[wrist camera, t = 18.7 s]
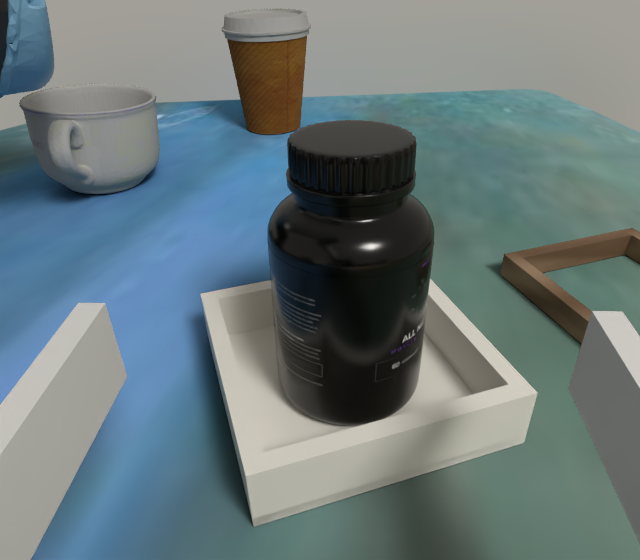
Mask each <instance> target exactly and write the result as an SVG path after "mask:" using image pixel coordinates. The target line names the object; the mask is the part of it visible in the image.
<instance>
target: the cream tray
mask: <svg viewBox="0 0 640 560" xmlns="http://www.w3.org/2000/svg"><path fill="white" fill-rule="evenodd" d="M201 300H202V306H203V311H204V317H205V322H206V328H207V334H208V339H209V343H210V347H211V351H212V356H213V360H214V364H215V368H216V372H217V376H218V380H219V385H220V389H221V393H222V397H223V401H224V405H225V410H226V414H227V418H228V422H229V426H230V430H231V435H232V439H233V443H234V447H235V451H236V455H237V460H238V464H239V468H240V472H241V476H242V480H243V485H244V489H245V493H246V497H247V501H248V505H249V509H250V514H251V518H252V522H253V526H254V527H255V526H258V525H261V524H264V523H268V522H271V521H274V520H277V519H280V518H284V517H287V516H290V515H293V514H296V513H300V512H303V511H306V510H309V509H313V508H316V507H319V506H322V505H325V504H329V503H332V502H335V501H338V500H342V499H345V498H348V497H351V496H354V495H358V494H361V493H364V492H367V491H370V490H374V489H377V488H380V487H383V486H387V485H390V484H393V483H396V482H399V481H403V480H406V479H409V478H412V477H415V476H419V475H422V474H425V473H428V472H432V471H435V470H438V469H441V468H444V467H448V466H451V465H454V464H457V463H460V462H464V461H467V460H470V459H473V458H477V457H480V456H483V455H486V454H489V453H493V452H496V451H499V450H502V449H505V448H509V447H512V446H515V445H518V444H522V443H524V441H525V437H526V433H527V430H528V426H529V422H530V419H531V415H532V411H533V408H534V404H535V400H536V397H537V392H536V391H535V390H534V389H533V388H532V387H531V385H530V384H529V383H528V382H527V381H526V380H525V379H524V378H523V377H522V376H521V375H520V374H519V373H518V372H517V371H516V370H515V368H514V367H513V366H512V365H511V364H510V363H509V362H508V361H507V360H506V359H505V358H504V357H503V356H502V355H501V354H500V352H499V351H498V350H497V349H496V348H495V347H494V346H493V345H492V344H491V343H490V342H489V341H488V340H487V339H486V338H485V337H484V335H483V334H482V333H481V332H480V331H479V330H478V329H477V328H476V327H475V326H474V325H473V324H472V323H471V322H470V321H469V320H468V318H467V317H466V316H465V315H464V314H463V313H462V312H461V311H460V310H459V309H458V308H457V307H456V306H455V305H454V304H453V303H452V301H451V300H450V299H449V298H448V297H447V296H446V295H445V294H444V293H443V292H442V291H441V290H440V289H439V288H438V287H437V286H436V284H435V283H434V282H433V281H432V280H431V279H430V283H429V292H428V301H427V310H426V320H425V329H424V338H423V347H422V356H421V364H420V372H419V379H418V384H417V387H416V390H415V392H414V394H413V396H412V397H411V399H410V400H409V401H408V402H407V404H405V405H404V406H403V407H402V408H401V409H400V410H399V411H397V412H396V413H394V414H393V415H391V416H389V417H387V418H385V419H382V420H378V421H375V422H371V423H368V424H363V425H337V424H331V423H327V422H323V421H320V420H317V419H315V418H313V417H311V416H309V415H307V414H305V413H304V412H302V411H301V410H299V409H298V408H297V407H296V406H294V405H293V404H292V403H291V401H290V400H289V399H288V398H287V397H286V395H285V393H284V392H283V390H282V387H281V385H280V381H279V376H278V366H277V357H276V344H275V331H274V318H273V305H272V292H271V280H268V281H263V282H258V283H253V284H247V285H242V286H237V287H232V288H227V289H222V290H217V291H211V292H206V293H201Z"/></svg>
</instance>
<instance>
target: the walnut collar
mask: <svg viewBox="0 0 640 560" xmlns="http://www.w3.org/2000/svg"><path fill="white" fill-rule="evenodd" d="M621 255H627V256H628V257H630V258H632V259H633V260H635V261H637V262H638V263H640V232H639V231H637V230H635V229H633V228H630V229H625V230H620V231H615V232H610V233H605V234H600V235H595V236H591V237H586V238H581V239H576V240H571V241H566V242H561V243H557V244H552V245H547V246H542V247H537V248H532V249H527V250H522V251H518V252H513V253H508V254H504V258H503V263H502V268H501V275H502V276H503V277H504V278H505V279H507V280H508V281H509V282H510V283H511V284H512V285H514V286H515V287H516V288H517V289H518V290H519V291H521V292H522V293H523V294H524V295H525V296H526V297H528V298H529V299H530V300H531V301H532V302H533V303H535V304H536V305H537V306H538V307H539V308H540V309H541V310H543V311H544V312H545V313H546V314H547V315H548V316H550V317H551V318H552V319H553V320H554V321H555V322H557V323H558V324H559V325H560V326H561V327H562V328H564V329H565V330H566V331H567V332H568V333H569V334H571V335H572V336H573V337H574V338H575V339H576V340H578V341H579V342H580V343H581V344H582V342H583V339H584V335H585V332H586V329H587V326H588V323H589V319H590V316H591V313H592V311H591V310H589V309H588V308H587V307H586V306H584V305H583V304H582V303H580V302H579V301H578V300H576V299H575V298H574V297H573V296H571V295H570V294H569V293H567V292H566V291H565V290H564V289H562V288H561V287H560V286H558V285H557V284H556V283H554V282H553V281H552V280H551V279H549V278H548V277H547V276H545V275H544V274H543V273H544V272H549V271H553V270H558V269H562V268H567V267H571V266H576V265H581V264H585V263H590V262H594V261H599V260H603V259H608V258H612V257H617V256H621Z"/></svg>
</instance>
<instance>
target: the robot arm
mask: <svg viewBox="0 0 640 560" xmlns="http://www.w3.org/2000/svg"><path fill="white" fill-rule="evenodd" d="M53 71H54V54H53V45H52V37H51V30H50V24H49V18H48V12H47V7H46V2H45V0H0V98H1V97H3V96H4V95H9V94H15V93H21V92H27V91H34V90H37V89H40V88H42V87H43V86H45V85H46V84H47V83H48V82H49V81H50V79H51V77H52V75H53ZM126 378H127V374H126V371H125V368H124V364H123V361H122V358H121V354H120V351H119V348H118V344H117V341H116V338H115V334H114V331H113V328H112V324H111V321H110V318H109V314H108V311H107V308H106V304H105V303H78V304H77V305H76V307H75V308H74V309H73V311H72V312H71V313H70V315H69V316H68V317H67V319H66V320H65V321H64V322H63V324H62V325H61V326H60V328H59V329H58V330H57V332H56V333H55V334H54V336H53V337H52V338H51V339H50V341H49V342H48V343H47V345H46V346H45V347H44V349H43V350H42V351H41V353H40V354H39V355H38V356H37V358H36V359H35V360H34V362H33V363H32V364H31V366H30V367H29V368H28V370H27V371H26V372H25V373H24V375H23V376H22V377H21V379H20V380H19V381H18V383H17V384H16V385H15V387H14V388H13V389H12V390H11V392H10V393H9V394H8V396H7V397H6V398H5V400H4V401H3V402H2V404H1V405H0V560H31V558H32V556H33V555H34V553H35V551H36V549H37V547H38V545H39V543H40V541H41V539H42V538H43V536H44V534H45V532H46V530H47V528H48V526H49V524H50V522H51V520H52V519H53V517H54V515H55V513H56V511H57V509H58V507H59V505H60V503H61V501H62V500H63V498H64V496H65V494H66V492H67V490H68V488H69V486H70V484H71V482H72V481H73V479H74V477H75V475H76V473H77V471H78V469H79V467H80V465H81V463H82V462H83V460H84V458H85V456H86V454H87V452H88V450H89V448H90V446H91V444H92V443H93V441H94V439H95V437H96V435H97V433H98V431H99V429H100V427H101V425H102V424H103V422H104V420H105V418H106V416H107V414H108V412H109V410H110V408H111V406H112V405H113V403H114V401H115V399H116V397H117V395H118V393H119V391H120V389H121V387H122V386H123V384H124V382H125V380H126ZM568 389H569V391H570V393H571V395H572V397H573V400H574V402H575V404H576V406H577V408H578V411H579V413H580V415H581V417H582V419H583V421H584V424H585V426H586V428H587V430H588V432H589V434H590V437H591V439H592V441H593V443H594V445H595V447H596V450H597V452H598V454H599V456H600V458H601V461H602V463H603V465H604V467H605V469H606V471H607V474H608V476H609V478H610V480H611V482H612V484H613V487H614V489H615V491H616V493H617V495H618V497H619V500H620V502H621V504H622V506H623V508H624V510H625V513H626V515H627V517H628V519H629V521H630V524H631V526H632V528H633V530H634V532H635V534H636V537H637V539H638V541H639V543H640V336H639V335H638V333H637V332H636V330H635V329H634V327H633V326H632V325H631V323H630V322H629V320H628V319H627V317H626V316H625V315H624V313H623V312H618V311H592V313H591V316H590V319H589V323H588V326H587V329H586V332H585V335H584V339H583V342H582V345H581V348H580V351H579V355H578V358H577V361H576V364H575V367H574V371H573V374H572V377H571V380H570V383H569V387H568Z"/></svg>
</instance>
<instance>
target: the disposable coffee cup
mask: <svg viewBox="0 0 640 560" xmlns="http://www.w3.org/2000/svg"><path fill="white" fill-rule="evenodd" d="M310 28H311V25H310V24H309V23H308V19H307V16H306V12H305V11H302V10H296V9H255V10H244V11H238V12H232V13H228V14H226V15H225V18H224V27H223V28H222V32H224V34H225V38H227V40H228V44H229V49H230V54H231V58H232V62H233V67H234V71H235V76H236V80H237V86H238V90H239V94H240V99H241V103H242V108H243V112H244V116H245V121H246V125H247V129H248V130H249V131H251V132H254V133H258V134H283V133H287V132H291V131H294V130H296V129H298V128H299V127H300V120H301V107H302V93H303V81H304V69H305V55H306V40H307V35H308V34H309V29H310Z"/></svg>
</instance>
